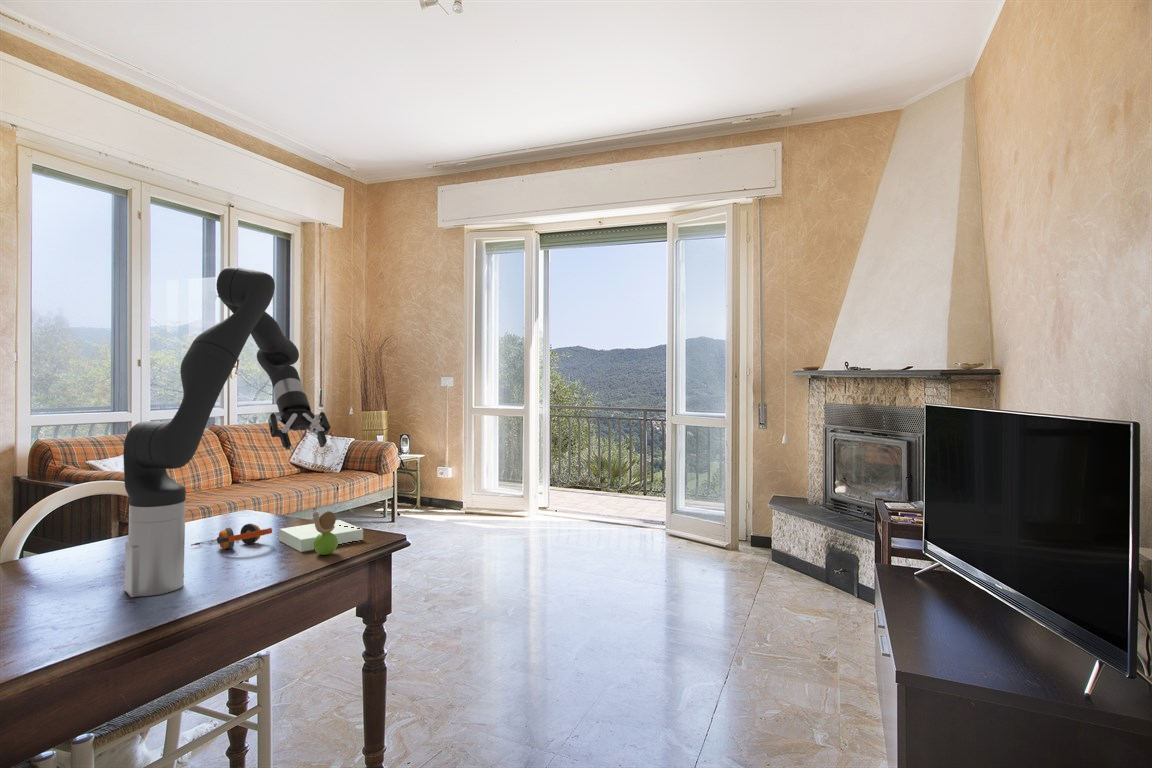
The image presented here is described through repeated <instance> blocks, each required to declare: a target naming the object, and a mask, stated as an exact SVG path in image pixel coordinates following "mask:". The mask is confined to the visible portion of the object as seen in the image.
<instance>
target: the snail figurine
mask: <svg viewBox="0 0 1152 768" xmlns="http://www.w3.org/2000/svg"><path fill="white" fill-rule="evenodd" d="M312 510H313V511H312V512H313V513H312V517H313V524H315V527H316V530H317V531H318V532H320V533H321V534H319V535H318V536H317V537H316V538H315V540H314V544H313V545H314V549H315V550H314V552H316V553H317V554H319V555H321V556H328V555H331V554H333V553H334V551H336V550H337V547H338V546H339V545H338V540H337V537H336V536H335V535H334V534H333V533H331V531H332V530H333V529H334V527H335V526H334V524H335V522H336V520H337V517H336V514H335V513H334V512H333V511H329V510H328V511H324V512H323V513H322V514H321V515H320V513H319V512H318V511H317V510H318V508H317V507H312Z"/></svg>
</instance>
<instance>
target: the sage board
mask: <svg viewBox="0 0 1152 768" xmlns="http://www.w3.org/2000/svg"><path fill="white" fill-rule="evenodd" d="M339 525H341V526H339ZM334 526H335V527H334V529H333V530H332V531H331V533H333V534H334V535H335V536H336V537H337V540H338V544H342V543H347V542H352V541H358V540H363V541H364V528H361V527H358V526H356V525H354V524H350V523H348V522H346V521H344V520H340V519H336V522H335V524H334ZM344 526H348V527H344ZM351 527H354V528H351ZM357 528H360V529H357ZM278 530H279V531H278V533H279V535H278V540H279V541H280V542H281V543H283V544H284V545H287V546H288V547H291V548H292V549H295V550H296V551H298V552H300V553H303V552H308V551H315V550H314V545H313V544H314V540H315V538H316V537H317V536H318V535H319V534H321V533H320V532H318V531H317V530H316V527H315V524H314V523H309V524H308V523H307V524H303V525H296V526H289V527H282V528H279V529H278ZM358 542H359V541H358ZM347 544H348V543H347ZM342 545H343V544H342Z"/></svg>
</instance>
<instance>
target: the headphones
mask: <svg viewBox="0 0 1152 768" xmlns="http://www.w3.org/2000/svg"><path fill="white" fill-rule="evenodd" d="M239 533H240V534H235V535H234V531H233V528H231V527H225V529H224V530H220V532H219V533H218V536H217V538H214V539H210V540H206V541H200V542H196V543H191V544H190V546H196V545H200V544H204V543H209V542H215V541H216V543H217V544H218V545H219V547H220V549H221V548H222V549H228V550H232V549H234V546H235V542H237V541H242V543H243V544H245V545H248V546H249V545H253V544H254V543H256V542H257V541H259V539H260V538H261V537H262V536H265V535H270V534H273V528H272V527H268V528H264V529H261V528H260V527H259V525H257V524H254V523H247V524H244V525H243V526H242V527H241V528H240V531H239Z"/></svg>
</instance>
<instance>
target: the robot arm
mask: <svg viewBox="0 0 1152 768" xmlns="http://www.w3.org/2000/svg"><path fill="white" fill-rule="evenodd" d="M275 283H276V282H275V279H274V277H273V276H272V275H270V274H269V273H267V272H264V271H261V270H255V269H250V268H245V267H240V266H226V267H224V268H223V269H221V271H220V272H219V274H218V276H217V280H216V285H215V286H216V291H217V295H218V297H219V300H221V302H222V303H223V304H224V305H225V306H226V307H227V309H229V310H230V312H231V313H232V314H231V315H229V316H228V317H227V318H225V319H224V320H223V319H222V321H220V322H218V323H216V324H215V325H212V326H211V327H209V328H208V329H206V330H204V331H203V332H201V333H200V334H198V336H196V338H195V339H194V340H193V341H192V343H191V344H190V347H189V348H188V350H187V352H186V353H185V355H184V357H183V358H182V361H181V364H180V380H181V384H182V391H183V396H182V399H181V403H180V405H179V407H178V410H177V411H176V413H175V414H174V415H173V417H172V419H171V420H170V421H140V422H137V423H136V424H134V425H133V426H132V427H131V428H130V429H129V430H128V431H127V433H126V435H125V438H124V443H123V453H122V454H123V475H124V478H123V479H124V489H125V491H126V493H127V495H128V503H129V504H128V505H129V506H128V538H127V540H128V541H126V542H125V553H124V554H125V557H124V560H125V561H124V591H125V592H126V593H127V595H128V596H129V598H136V597H152V596H158V595H163V594H167V593H170V592H174V591H177V590H179V589H181V588H182V587H183V586H184V581H185V580H184V579H185V543H186V542H185V539H186V538H185V537H186V535H185V534H186V498H187V497H186V496H187V495H186V494H187V493H186V492H187V491H186V488H185V485H182V484H181V483H178V482H177V481H175V480H174V479H172V478H171V476H169V475H168V473H167V470H176V469H182V467H185V466H186V465H188V463H189V462H191V461H192V459H193V457H195V456H194V455H195V454H196V452H197V450H198V447H199V445H200V443H201V441H202V437H203V435H204V433H205V429H206V426H207V423H208V421H209V419H210V417H211V416H210V415H211V413H212V411H213V409H214V407H215V405H216V402H217V400H218V398H219V396H220V394H221V392H222V390H223V388H224V386H225V384H226V382H227V381H228V378H229V377H230V376H231V373H232V372H233V369H234V367H235V365H236V364H237V361H238V359H239V357H240V355H241V352H242V351H243V348H244V346H245V345H246V343H247V341H248V339H249V337H250V335H251V337H252V339H253V341H254V342H255V344H256V346H257V348H258V350H257V352H256V359H257V362H258V364H259V365H260V367H261V368H262V369H263V370H264V371H265V372H266V374H267V376H268V377H269V379H270V382H271V385H272V388H273V395H274V400H275V402H276V405H277V409H278V413H279V415H276V414H275V413H274V412H272V413H271V414H270V415H269V418H268V420H267V422H268V427H269V432H270V436H271V437H272V438H276V437H277V438H279V439H280V442H281V445H282V447H283V449H284V448H285V450H287V451H288V450H290V448H291V446H292V443H291V440H290V436H289V433H290V430H292V431H293V432H294V431H295V432H297V431H308V432H309V433H310V434H314V435H315V436H316V439H317V441H318V444H319V446H320V448H324V447H325V446H326V444H327V441H328V439H327V437H326V435H329V432H330V430H331V425H330V423H329V420H328V418H327V416H326V414H325V412H323V411H321V412H320V413H319V414H314V413H313V412H312V409H311V406H310V402H309V399H308V396H307V394H306V390H305V388H304V385H303V384H302V381H301V379H300V375H299V372H298V370H297V369H296V367H294V366H292V365H294V364H296V363H297V361H298V360H299V358H300V353H299V350H298V348H297V346H296V345H295V343H293V341H292V340H290V339H289V338H288V337H287V336H285V335H284V334H283V332H282V330H281V326H280V325H279V324H278V322H277V321H276V319H275V318H274V317H273V316H271V315H270V314H269V313H267V312H266V310H267V309H268V307H269V305H270V303H271V301H272V300H273V297H274V294H275V291H276V290H275V289H276V285H275ZM279 422H280V423H281V424H283V425H284V426H283V428H282V429H279V426H278V424H279Z"/></svg>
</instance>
